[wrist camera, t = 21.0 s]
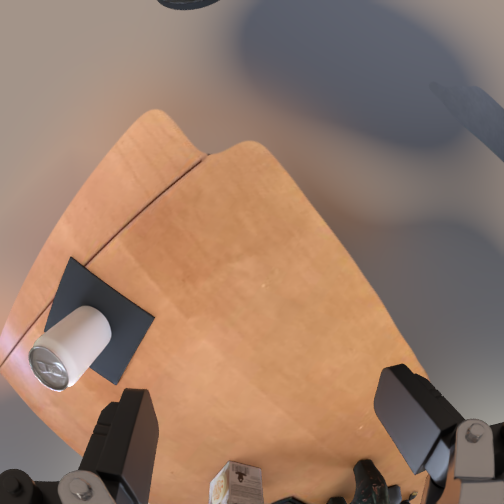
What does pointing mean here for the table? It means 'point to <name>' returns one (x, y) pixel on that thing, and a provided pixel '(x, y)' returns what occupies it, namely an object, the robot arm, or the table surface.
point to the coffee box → (237, 485)
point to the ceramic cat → (367, 486)
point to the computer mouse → (398, 495)
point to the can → (69, 348)
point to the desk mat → (112, 307)
